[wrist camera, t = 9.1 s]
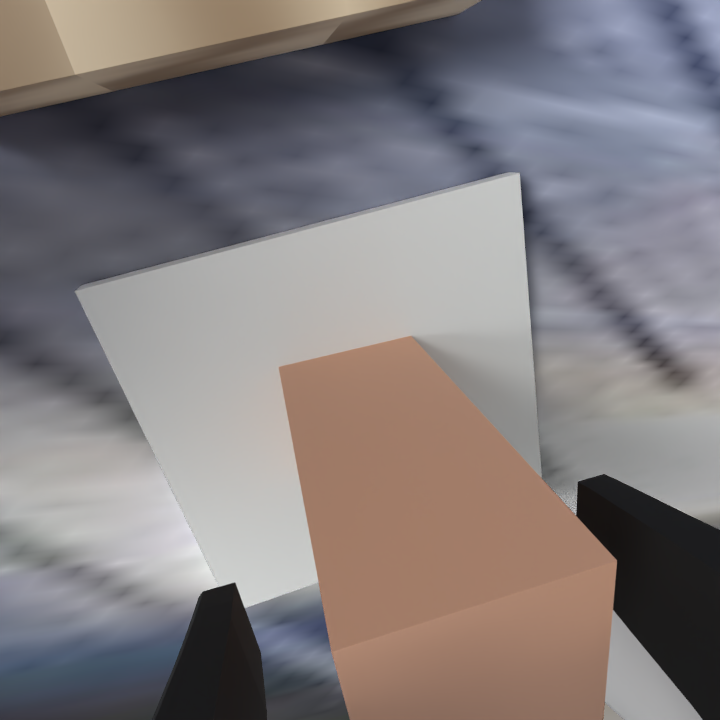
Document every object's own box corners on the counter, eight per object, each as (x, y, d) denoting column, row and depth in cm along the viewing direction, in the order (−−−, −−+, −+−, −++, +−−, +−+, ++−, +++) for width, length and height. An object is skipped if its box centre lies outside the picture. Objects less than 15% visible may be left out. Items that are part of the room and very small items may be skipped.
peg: (306, 478, 16) (376, 815, 8) (278, 366, 14) (332, 651, 6) (424, 446, 17) (602, 732, 8) (411, 335, 15) (617, 560, 7)
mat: (231, 598, 18) (231, 612, 17) (81, 285, 13) (74, 291, 12) (535, 494, 19) (544, 503, 19) (508, 172, 14) (519, 173, 14)
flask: (651, 490, 21) (963, 748, 12) (659, 600, 24) (911, 869, 15) (494, 559, 20) (696, 884, 11) (524, 662, 24) (700, 979, 15)
